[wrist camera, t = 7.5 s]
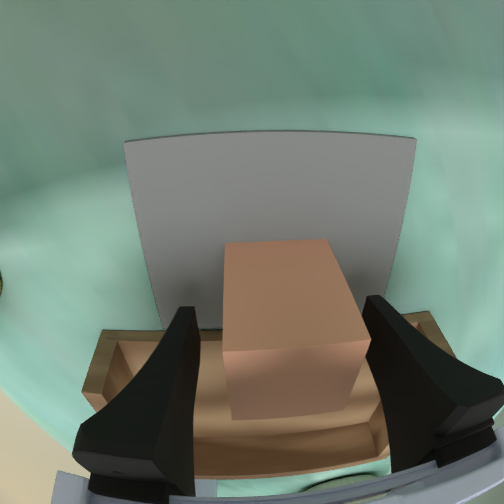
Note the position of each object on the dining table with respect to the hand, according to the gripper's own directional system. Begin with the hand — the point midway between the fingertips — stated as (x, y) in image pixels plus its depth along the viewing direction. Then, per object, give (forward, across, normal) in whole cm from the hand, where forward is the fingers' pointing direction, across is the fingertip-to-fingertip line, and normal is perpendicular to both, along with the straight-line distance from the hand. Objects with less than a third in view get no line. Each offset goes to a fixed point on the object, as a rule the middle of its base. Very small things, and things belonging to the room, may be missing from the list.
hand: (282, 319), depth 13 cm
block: (+3, 0, 0) cm, 3 cm away
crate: (+3, 0, +10) cm, 11 cm away
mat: (+3, 0, -2) cm, 4 cm away
